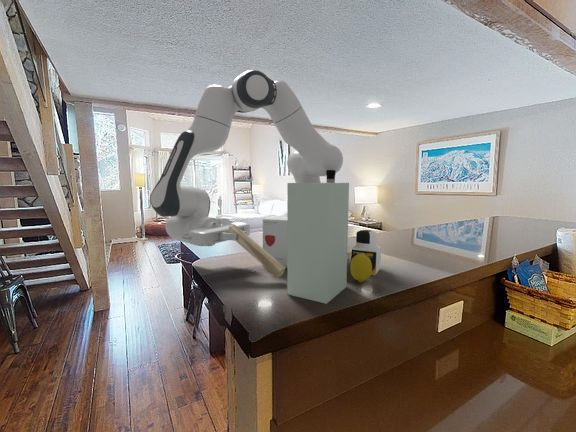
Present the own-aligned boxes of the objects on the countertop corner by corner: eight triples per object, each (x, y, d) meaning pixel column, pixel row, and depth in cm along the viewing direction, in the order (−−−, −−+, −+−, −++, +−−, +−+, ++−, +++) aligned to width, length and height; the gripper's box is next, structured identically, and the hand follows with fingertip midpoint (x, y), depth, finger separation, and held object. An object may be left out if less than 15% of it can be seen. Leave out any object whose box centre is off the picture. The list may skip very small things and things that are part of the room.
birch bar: (232, 231, 86) (235, 224, 85) (281, 274, 78) (285, 268, 77) (226, 232, 84) (229, 225, 83) (276, 277, 76) (280, 270, 75)
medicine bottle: (350, 272, 85) (351, 231, 84) (357, 265, 92) (358, 228, 90) (375, 275, 82) (377, 233, 81) (380, 269, 88) (381, 229, 87)
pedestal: (311, 279, 79) (312, 182, 75) (346, 286, 73) (349, 182, 70) (287, 294, 68) (287, 183, 65) (326, 303, 63) (328, 183, 60)
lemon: (345, 280, 78) (346, 251, 77) (363, 278, 80) (364, 249, 79) (357, 287, 73) (358, 256, 72) (375, 284, 75) (377, 254, 74)
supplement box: (261, 265, 92) (261, 218, 90) (271, 258, 100) (271, 215, 98) (289, 268, 89) (289, 219, 87) (297, 260, 97) (297, 216, 96)
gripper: (177, 225, 80) (213, 230, 73) (229, 217, 98) (262, 220, 90) (178, 248, 81) (214, 254, 74) (230, 236, 98) (263, 240, 91)
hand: (241, 236), depth 82 cm, fingers closed on birch bar, 2 cm apart
